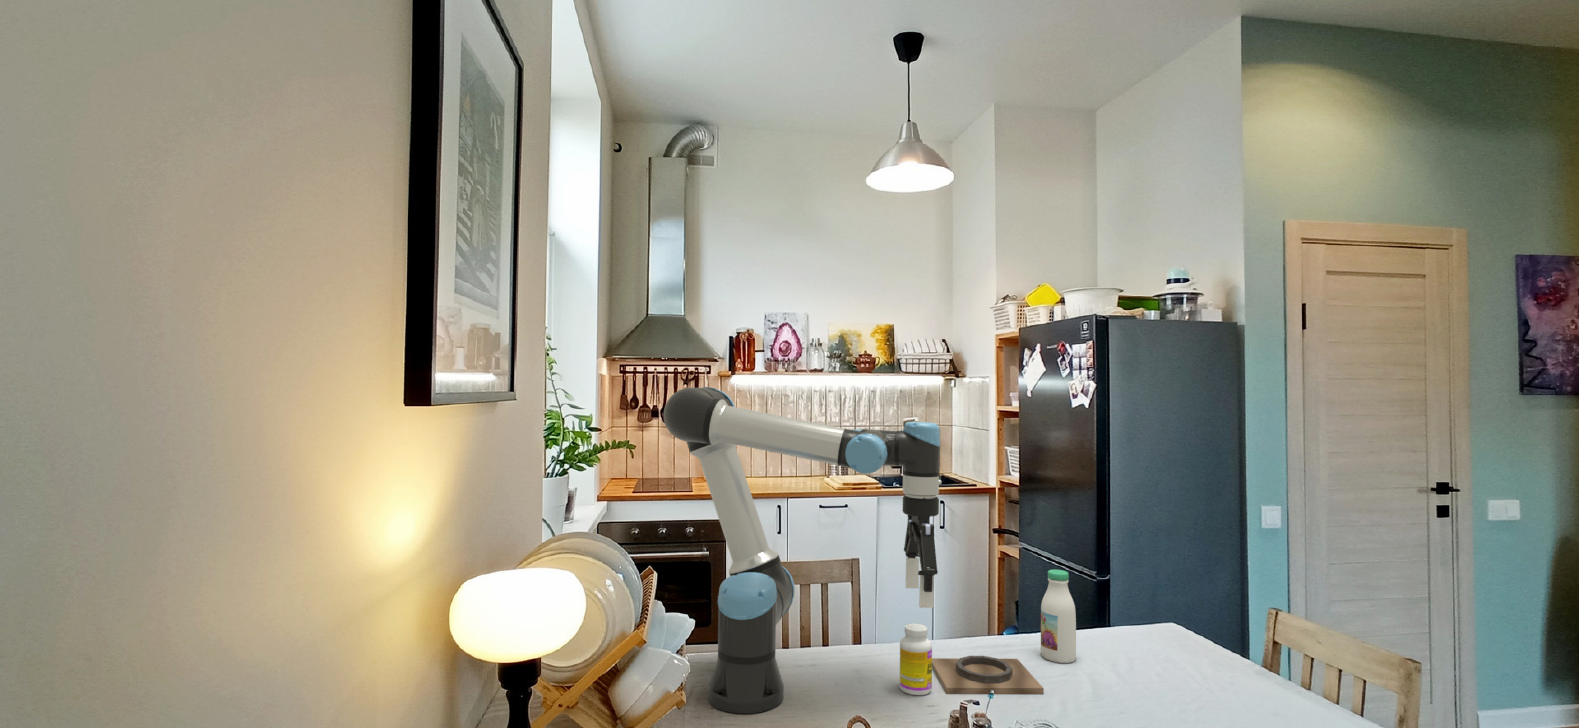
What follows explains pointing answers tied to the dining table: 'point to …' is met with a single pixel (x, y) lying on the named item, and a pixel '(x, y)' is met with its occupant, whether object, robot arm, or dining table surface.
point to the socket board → (985, 676)
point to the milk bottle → (1058, 620)
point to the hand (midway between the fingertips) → (918, 597)
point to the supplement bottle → (915, 661)
